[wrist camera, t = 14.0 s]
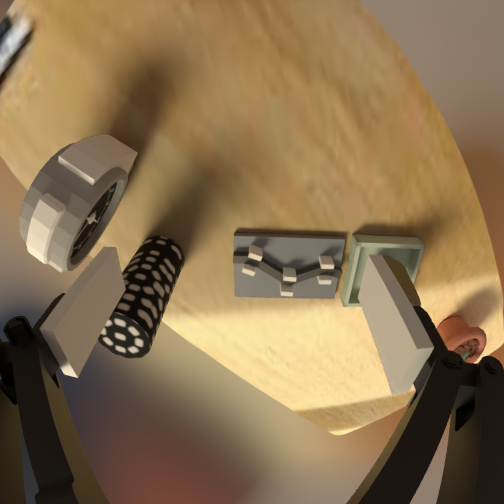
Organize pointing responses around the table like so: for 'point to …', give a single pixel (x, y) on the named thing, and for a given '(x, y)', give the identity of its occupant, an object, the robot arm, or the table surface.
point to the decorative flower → (462, 338)
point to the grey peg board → (287, 265)
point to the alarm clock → (75, 200)
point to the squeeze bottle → (403, 280)
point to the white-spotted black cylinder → (143, 298)
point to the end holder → (391, 246)
